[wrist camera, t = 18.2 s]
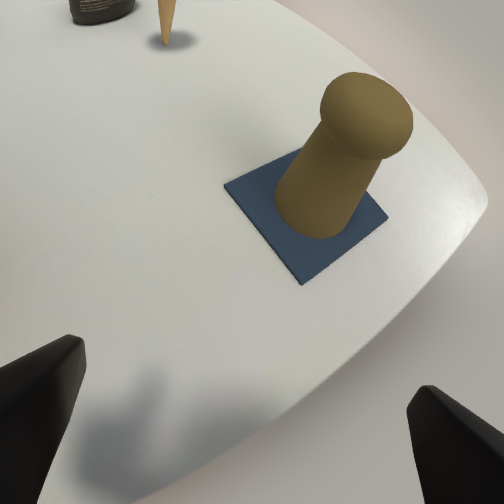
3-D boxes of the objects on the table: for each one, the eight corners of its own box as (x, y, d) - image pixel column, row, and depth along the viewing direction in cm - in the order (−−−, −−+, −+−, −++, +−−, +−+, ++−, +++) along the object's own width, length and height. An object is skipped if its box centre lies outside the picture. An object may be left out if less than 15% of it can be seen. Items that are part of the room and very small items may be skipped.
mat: (301, 286, 21) (302, 284, 21) (223, 186, 23) (223, 184, 23) (387, 219, 25) (389, 217, 25) (317, 142, 27) (319, 140, 27)
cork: (348, 247, 23) (440, 152, 13) (268, 227, 22) (325, 105, 12) (350, 182, 25) (418, 83, 15) (279, 161, 25) (325, 45, 15)
